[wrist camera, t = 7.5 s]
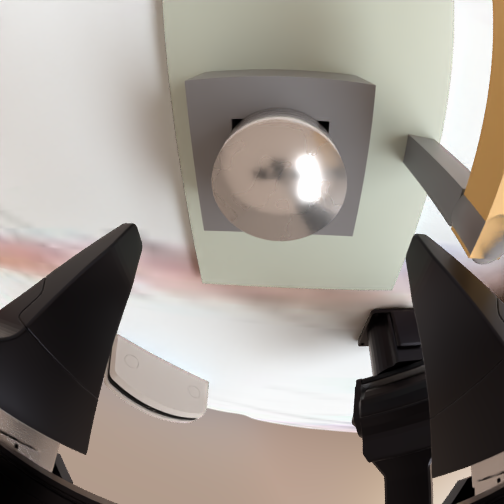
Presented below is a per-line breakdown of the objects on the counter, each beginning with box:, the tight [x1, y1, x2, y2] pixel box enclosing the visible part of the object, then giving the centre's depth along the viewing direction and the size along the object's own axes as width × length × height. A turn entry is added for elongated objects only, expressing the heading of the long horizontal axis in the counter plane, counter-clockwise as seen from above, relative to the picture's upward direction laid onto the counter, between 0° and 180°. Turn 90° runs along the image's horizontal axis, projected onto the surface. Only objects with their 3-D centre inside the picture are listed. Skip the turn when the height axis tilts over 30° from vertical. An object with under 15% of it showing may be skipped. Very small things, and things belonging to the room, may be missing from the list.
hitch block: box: [162, 0, 471, 290], centre depth 15 cm, size 24×17×8 cm
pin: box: [211, 108, 347, 241], centre depth 14 cm, size 6×6×6 cm
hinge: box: [104, 334, 209, 423], centre depth 37 cm, size 17×5×10 cm, turn 46°
